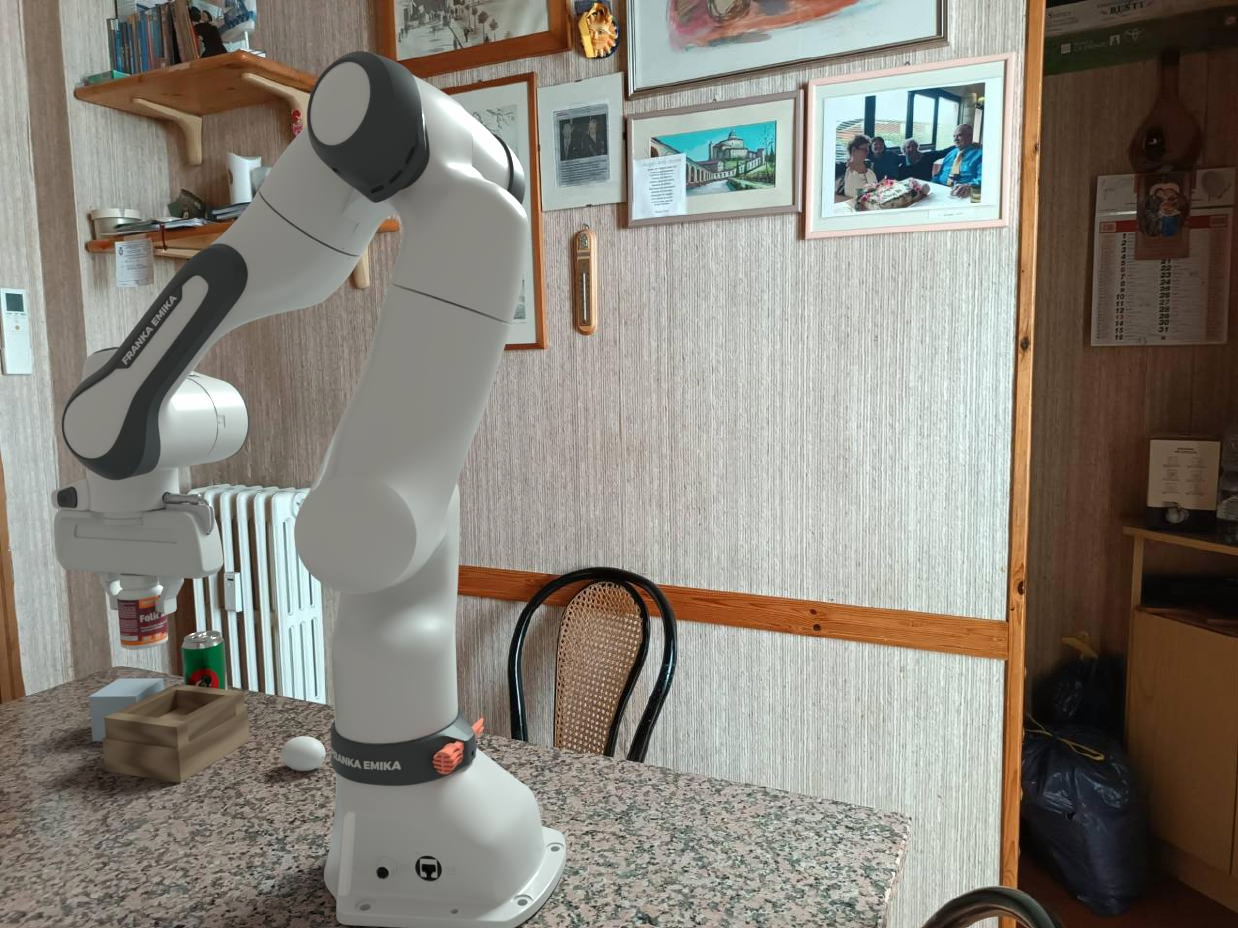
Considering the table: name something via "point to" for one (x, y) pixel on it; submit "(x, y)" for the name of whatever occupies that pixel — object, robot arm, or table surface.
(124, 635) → the pill bottle
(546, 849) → the robot arm
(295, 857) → the table surface
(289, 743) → the egg
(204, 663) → the soda can
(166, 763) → the wooden open box
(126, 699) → the slate block
